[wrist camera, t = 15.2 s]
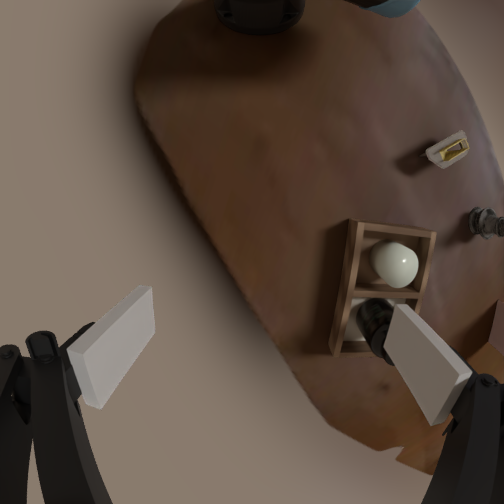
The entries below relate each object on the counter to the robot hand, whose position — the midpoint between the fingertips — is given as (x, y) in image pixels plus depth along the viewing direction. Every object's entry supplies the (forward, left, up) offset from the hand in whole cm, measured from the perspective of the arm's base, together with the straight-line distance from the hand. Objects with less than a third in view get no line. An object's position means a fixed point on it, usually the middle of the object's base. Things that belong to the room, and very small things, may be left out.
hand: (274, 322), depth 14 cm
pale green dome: (+2, +19, -28) cm, 34 cm away
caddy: (+8, +19, -29) cm, 35 cm away
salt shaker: (-6, +40, -29) cm, 50 cm away
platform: (-16, +28, -29) cm, 44 cm away
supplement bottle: (+13, +19, -28) cm, 36 cm away
